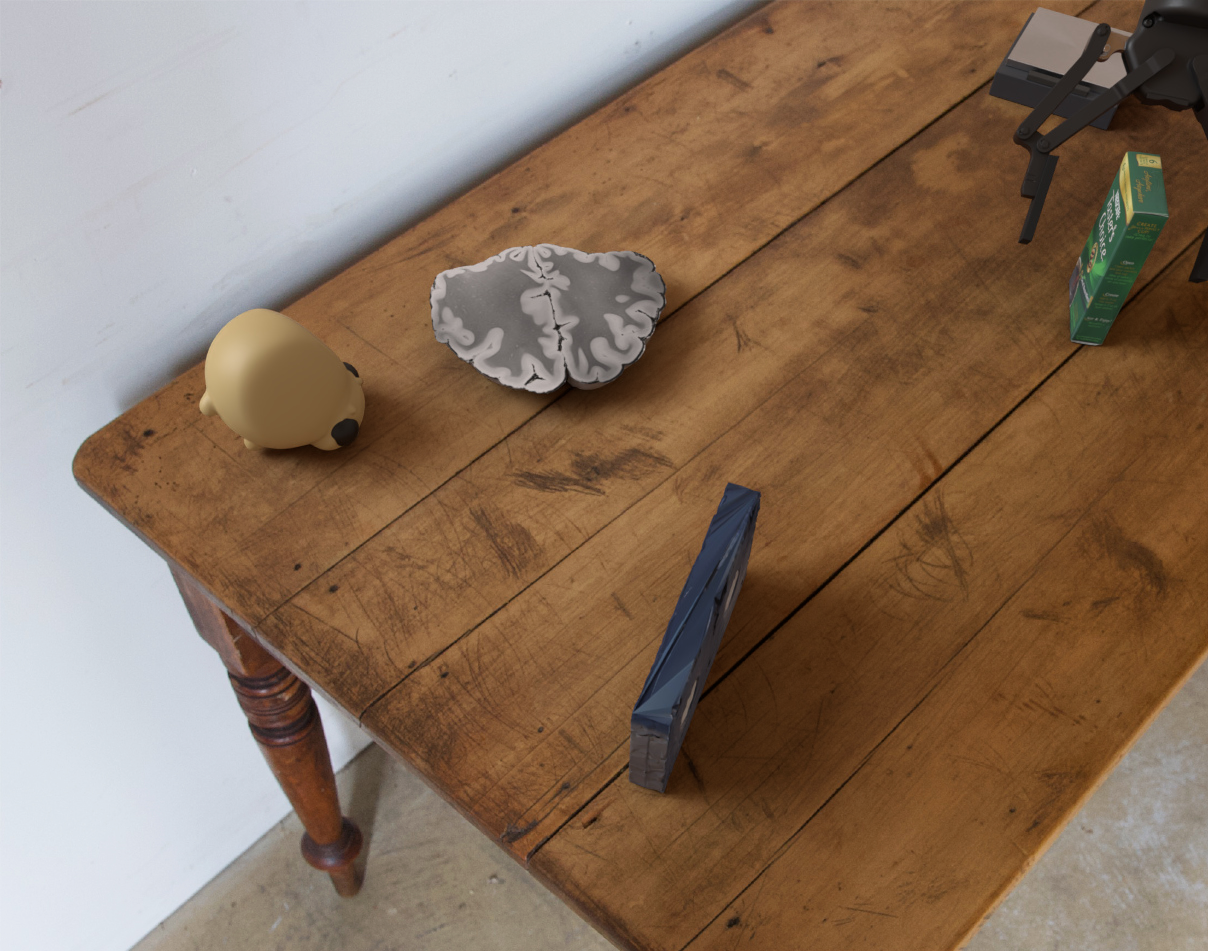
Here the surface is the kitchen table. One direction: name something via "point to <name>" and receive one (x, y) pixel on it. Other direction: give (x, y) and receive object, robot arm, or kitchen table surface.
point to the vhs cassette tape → (692, 640)
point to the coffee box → (1117, 247)
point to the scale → (1055, 64)
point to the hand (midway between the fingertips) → (1109, 261)
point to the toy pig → (281, 385)
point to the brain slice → (549, 315)
